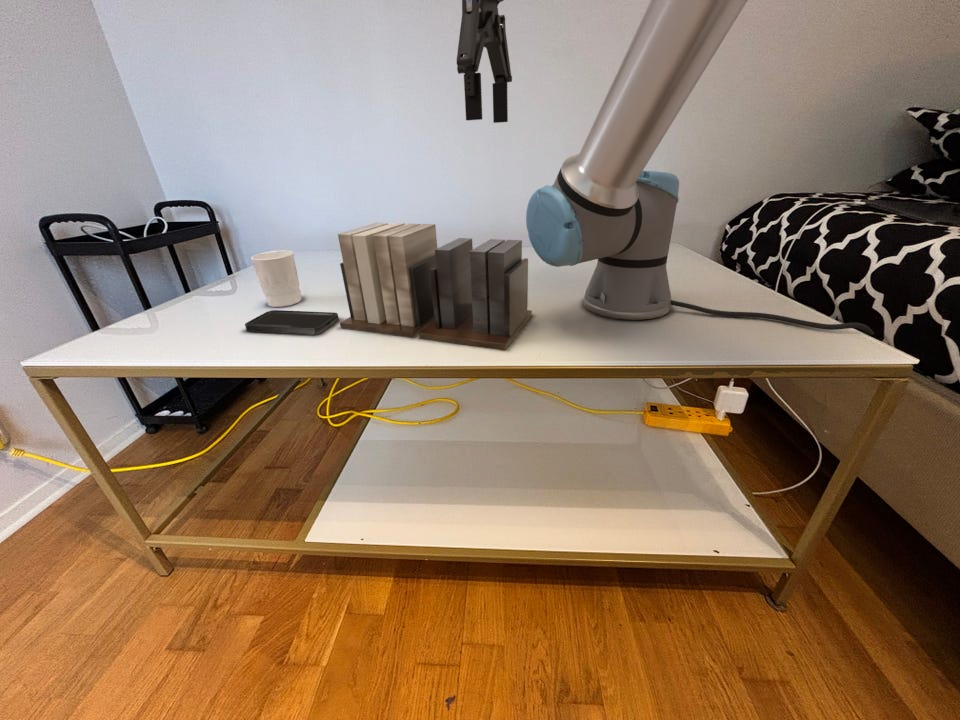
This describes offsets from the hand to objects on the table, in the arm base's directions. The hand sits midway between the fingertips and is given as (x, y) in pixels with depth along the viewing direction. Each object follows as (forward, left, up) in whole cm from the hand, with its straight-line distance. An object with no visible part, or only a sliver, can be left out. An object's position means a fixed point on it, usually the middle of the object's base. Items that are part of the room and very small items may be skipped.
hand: (488, 121), depth 76 cm
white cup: (+40, +20, -32) cm, 55 cm away
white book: (+12, +21, -31) cm, 39 cm away
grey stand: (-5, +21, -32) cm, 38 cm away
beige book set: (+11, +21, -32) cm, 40 cm away
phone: (+28, +30, -32) cm, 52 cm away
